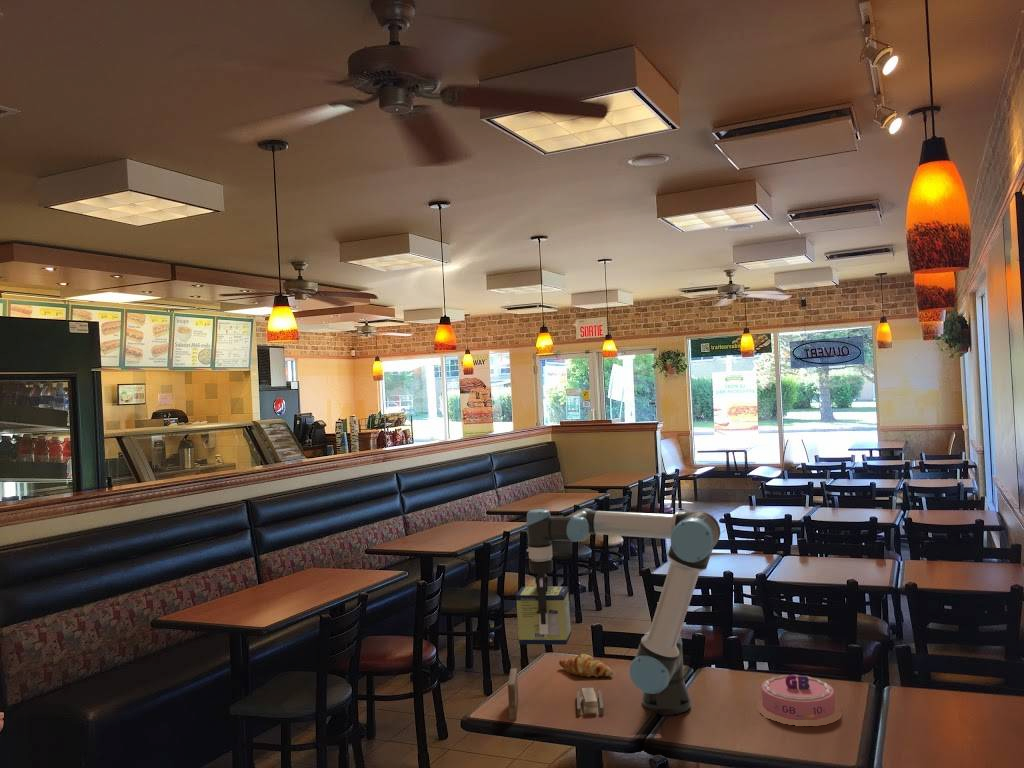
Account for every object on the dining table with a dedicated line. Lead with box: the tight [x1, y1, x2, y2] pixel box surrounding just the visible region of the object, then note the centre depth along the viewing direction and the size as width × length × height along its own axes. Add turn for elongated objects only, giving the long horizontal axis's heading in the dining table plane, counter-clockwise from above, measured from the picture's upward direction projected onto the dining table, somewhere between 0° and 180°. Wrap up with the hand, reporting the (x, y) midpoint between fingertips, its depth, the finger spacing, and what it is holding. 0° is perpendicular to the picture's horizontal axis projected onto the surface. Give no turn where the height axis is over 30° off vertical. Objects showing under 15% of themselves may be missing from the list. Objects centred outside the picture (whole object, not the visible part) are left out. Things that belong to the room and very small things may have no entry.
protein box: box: [515, 586, 572, 646], centre depth 252 cm, size 10×16×16 cm
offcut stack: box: [581, 687, 598, 714], centre depth 251 cm, size 4×12×4 cm, turn 176°
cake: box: [760, 674, 836, 720], centre depth 242 cm, size 25×25×11 cm
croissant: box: [558, 653, 614, 678], centre depth 282 cm, size 21×10×8 cm, turn 58°
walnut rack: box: [507, 667, 605, 721], centre depth 251 cm, size 29×14×11 cm, turn 86°
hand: (544, 628), depth 252 cm, fingers closed on protein box, 11 cm apart
